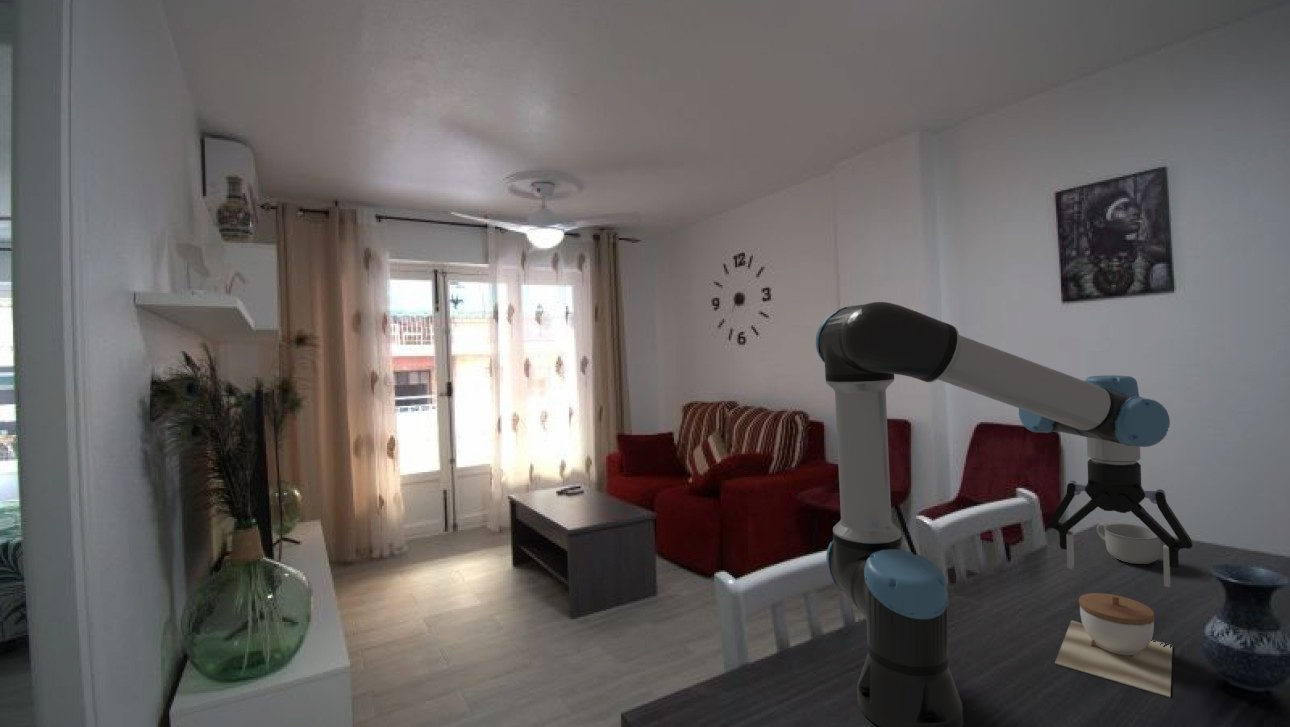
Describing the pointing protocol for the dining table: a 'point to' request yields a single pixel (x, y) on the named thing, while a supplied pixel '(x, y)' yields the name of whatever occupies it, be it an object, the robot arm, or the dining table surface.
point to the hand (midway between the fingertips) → (1116, 575)
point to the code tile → (1118, 662)
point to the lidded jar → (1117, 622)
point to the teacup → (1130, 542)
